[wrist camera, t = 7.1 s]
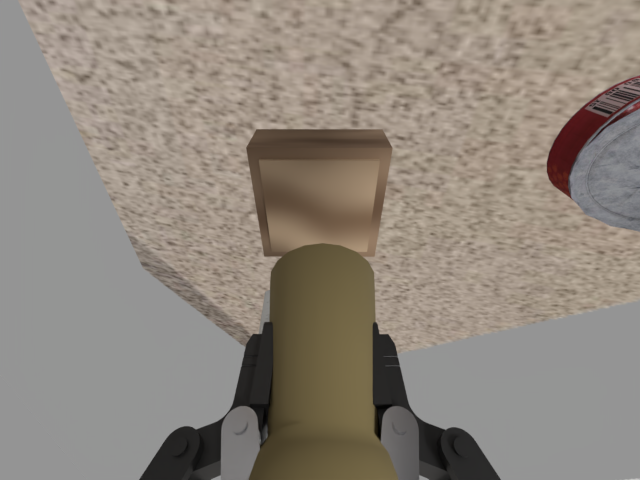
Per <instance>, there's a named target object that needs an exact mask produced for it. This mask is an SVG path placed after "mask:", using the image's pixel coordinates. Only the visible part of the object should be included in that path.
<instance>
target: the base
mask: <svg viewBox="0 0 640 480" xmlns="http://www.w3.org/2000/svg"><path fill="white" fill-rule="evenodd" d="M392 149H393V148H392V146H391V144H390V142H389V140H388V138H387V137H386V135H385V133H384V131H383V129H256V131H255V133H254V135H253V136H252V138H251V140H250V142H249V144H248V145H247V147H246V150H247V156H248V162H249V168H250V174H251V180H252V186H253V192H254V198H255V204H256V210H257V216H258V222H259V228H260V234H261V240H262V246H263V252H264V257H283V256H284V255H285V254H286V253H288V252H289V251H291V250H294V249H297V248H299V247H302V246H304V245H312V244H320V243H325V244H333V245H341V246H343V247H346V248H348V249H351V250H353V251H356V252H357V253H359V254H360V255H361V256H362V257H375V251H376V245H377V239H378V233H379V227H380V221H381V215H382V209H383V203H384V197H385V191H386V185H387V179H388V173H389V167H390V161H391V155H392Z"/></svg>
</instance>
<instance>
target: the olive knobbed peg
mask: <svg viewBox="0 0 640 480" xmlns="http://www.w3.org/2000/svg"><path fill="white" fill-rule="evenodd" d="M269 322H272V323H273V372H272V383H271V394H270V405H269V409H268V422H267V438H266V439H265V441H264V442H263V444H262V445H261V448H260V451H259V452H258V454H257V457H256V460H255V463H254V465H253V468H252V471H251V473H250V476H249V480H398V476H397V473H396V471H395V468H394V465H393V463H392V460H391V458H390V455H389V453H388V451H387V450H386V449H385V447H384V446H383V445H382V443H381V442H380V439H379V429H378V412H377V408H376V407H375V406H374V405H373V323H374V322H376V314H375V280H374V271H373V269H372V268H371V266H370V264H369V262H368V261H367V260H366V259H365V258H364V257H362V256H361V255H360V254H359V253H357V252H356V251H353V250H351V249H348V248H346V247H343V246H341V245H333V244H325V243H320V244H312V245H304V246H302V247H299V248H297V249H294V250H291V251H289V252H288V253H286V254H285V255H284V256H283V257H281V258H280V259H279V260H278V261H277V262H276V264H275V266H274V267H273V269H272V271H271V277H270V314H269Z"/></svg>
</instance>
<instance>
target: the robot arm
mask: <svg viewBox="0 0 640 480" xmlns="http://www.w3.org/2000/svg"><path fill="white" fill-rule="evenodd" d="M272 372H273V323H272V322H264V325H263V330H262V334H252V336H251V337H250V339H249V340H248V342H247V344H246V347H245V352H244V357H243V361H242V367H241V370H240V374H239V378H238V383H237V387H236V392H235V396H234V401H233V404H232V406H231V408H230V410H229V411H228V412H227V414H226V415H225V416H224V417H223V418H221V419H220V420H218V421H217V422H214V423H212V424H209V425H206V426H204V427H201V428H198V429H195V428H193V427H190V426H183V427H180V428H178V429H176V430H174V431H173V432H172V433H171V434H170V435H169V436H168V437H167V438H166V440H165V441H164V443H163V444H162V446H161V447H160V449H159V450H158V452H157V453H156V455H155V456H154V458H153V459H152V461H151V462H150V464H149V465H148V467H147V468H146V470H145V471H144V473H143V474H142V476H141V477H140V479H139V480H211V479H213V478H215V477H218V476H220V475H221V480H249V476H250V473H251V471H252V468H253V465H254V463H255V460H256V457H257V454H258V452H259V451H260V448H261V445H262V444H263V442H264V441H265V439H266V438H267V422H268V409H269V405H270V394H271V383H272ZM373 405H374V406H375V407H376V408H377V412H378V429H379V439H380V442H381V443H382V445H383V446H384V447H385V449H386V450H387V451H388V453H389V455H390V458H391V460H392V463H393V465H394V468H395V471H396V473H397V476H398V480H419V475H420V476H423V477H425V478H427V479H429V480H501V479H500V477H499V476H498V474H497V473H496V471H495V470H494V468H493V467H492V465H491V464H490V462H489V461H488V459H487V458H486V456H485V455H484V453H483V452H482V450H481V449H480V447H479V446H478V444H477V442H476V441H475V440H474V438H473V437H472V436H471V435H470V434H469V433H468V432H466V431H465V430H463V429H461V428H457V427H451V428H448V429H446V430H445V429H442V428H439V427H437V426H434V425H431V424H429V423H426V422H424V421H423V420H421V419H420V418H419V417H417V416H416V415H415V413H414V412H413V411H412V409H411V407H410V405H409V402H408V398H407V394H406V390H405V385H404V381H403V376H402V372H401V368H400V363H399V359H398V355H397V350H396V346H395V343H394V342H393V340H392V339H391V337H390V336H389V334H379V329H378V324H377V322H374V323H373Z"/></svg>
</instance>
